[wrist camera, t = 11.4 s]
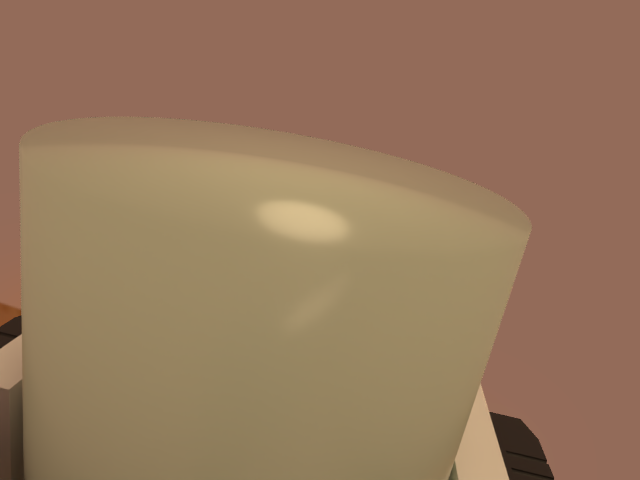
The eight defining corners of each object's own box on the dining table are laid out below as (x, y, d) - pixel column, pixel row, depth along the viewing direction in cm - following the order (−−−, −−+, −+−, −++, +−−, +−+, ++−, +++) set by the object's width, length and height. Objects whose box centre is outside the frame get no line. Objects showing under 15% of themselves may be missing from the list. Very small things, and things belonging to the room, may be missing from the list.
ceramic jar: (364, 578, 13) (482, 171, 10) (343, 997, 7) (633, 319, 4) (133, 518, 14) (165, 107, 10) (-70, 865, 8) (-163, 147, 4)
